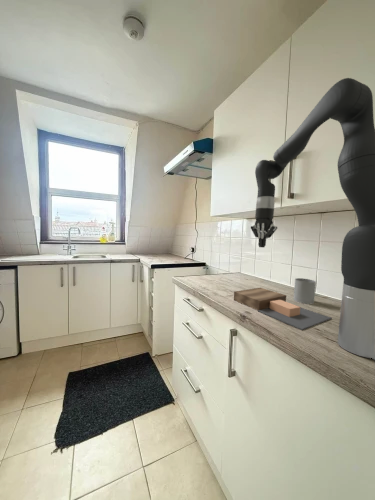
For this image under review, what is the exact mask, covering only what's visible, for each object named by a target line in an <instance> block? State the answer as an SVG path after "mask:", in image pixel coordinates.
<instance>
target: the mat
mask: <svg viewBox="0 0 375 500" xmlns="http://www.w3.org/2000/svg"><path fill="white" fill-rule="evenodd" d="M299 307H300V315H296V316H292V317H288V316H286V315H283V314H281V313H279V312H277V311H274V310H272V309H270V308H266V309H262V310H257V312H258V313H260V314H262V315H265V316H268V317H270V318H272V319H275V320H276V321H280V322H282V323H284V324H286V325H288V326H291V327H293V328H295V329H298V330H300V331H304V330H306V329H309V328H311V327H315V326H317V325H319V324H321V323H324V322H327V321H329V320H332V319H333V318H332V317H330V316H328V315H325V314H322V313H318V312H315V311H313V310H310V309H307V308H303V307H301V306H299Z"/></svg>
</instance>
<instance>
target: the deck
mask: <svg viewBox="0 0 375 500" xmlns="http://www.w3.org/2000/svg"><path fill="white" fill-rule="evenodd" d="M275 300H282V301H285V302H287V295H286V294H282V293H280V292H277V291H273V290H270V289H266V288H263V287H256V288H248V289H242V290H235V291H234V292H233V301H235V302H238V303H239V304H242V305H244V306H246V307H249V308H252V309H253V310H256V311H258V310H262V309H266V308H270V301H275Z"/></svg>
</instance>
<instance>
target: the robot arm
mask: <svg viewBox="0 0 375 500" xmlns="http://www.w3.org/2000/svg"><path fill="white" fill-rule="evenodd" d="M373 96H374V95H373V92H372V90H371V88H370V87H369V86H368V85H366V84H364V83H362V82H360V81H358V80H357V79H355V78H352V77H346V78H343V79H340V80H338V81H337V82H336V83H335V84H333V86H331V87H330V88H329V89H328V91H326V92H325V94H324V95H323V96H322V97H321V99H320V100H319V101H318V102H317V103H316V105H315V106H314V108H313V109H312V110H311V111H310V113H309V114H308V115H307V116H306V117H305V119H304V120H303V121H302V123H301V124H300V125H299V127H297V129H296V130H295V132H294V133H292V134H291V135H290V137H288V138H287V140H286V141H285V142H284V143H282V144H281V145H280V146H279V147H278V149H277V150H276V151H274V153H273V157H272V158H273V160H269V159H268V160H267V159H262V160H260V161H258V163H257V164H256V167H255V172H254V173H255V180H256V186H257V197H256V202H255V203H256V205H255V216H254V218H255V221H254V225H251V226H250V229H251V231H252V233H253V236H254V237H255V238H258V244H257V245H258V247H259V248H265V247H266V246H267V245H266V244H267V239H270V238H271V237H272V236H273V235H274V234H275V232H276V231H277V229H278V226H276V225H274V221H273V219H274V217H275V216H274V214H275V202H276V201H275V196H276V195H275V193H276V185H275V184H274V183H273V182H271V181H270V180H273V179H277V178H278V177H279V176H280V175H281V174H282V173H283V172H284V170H285V169H286V168H287V166H288V164H289V163H290V162H292V161H294V159H296V158H297V157H298V156H299V155H300V154H301V153H302V152H303V151H304V150H305V149H306V147H307V145H308V143H309V141H310V139H311V137H312V136H313V134H314V133H315V132H316V130H317V129H318V128H319V127H320V126H321V125H323V124H325V122H327V121H328V120H330V119H332V120H334V121H336V122H338V123H340V127H341V130H342V134H343V145H342V149H341V150H340V153H339V156H338V159H337V171H338V177H339V184H340V187H341V189H342V192H343V193H344V194H345V196H346V198H347V200H348V201H349V203H350V205H351V207H352V208H353V210H354V212H355V215H356V219H357V223H358V226H355V227H353V228H352V229H350V230H348V232H347V233H346V234H345V236H344V238H343V241H342V244H341V245H342V247H341V265H340V266H341V267H340V268H341V269H340V270H341V274H342V277H343V283H342V295H341V302H340V303H341V304H340V311H339V313H340V314H339V321H338V334H337V344H338V346H339V347H341V348H342V349H344V350H345V351H348V352H349V353H352V354H354V355H357V356H358V357H359V356H360V357H363V358H368V359H371V358H372V359H371V360H373V361H375V122H374V121H375V120H374V98H373Z"/></svg>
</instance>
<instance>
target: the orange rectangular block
mask: <svg viewBox="0 0 375 500" xmlns="http://www.w3.org/2000/svg"><path fill="white" fill-rule="evenodd" d="M300 307H301V306H299V305H295V304H293V303H290V302H288V301H286V302H285V301H282V300H275V301H270V309H272V310H274V311H277V312H279V313H281V314H283V315H286V316H288V317H292V316H296V315H300Z"/></svg>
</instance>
